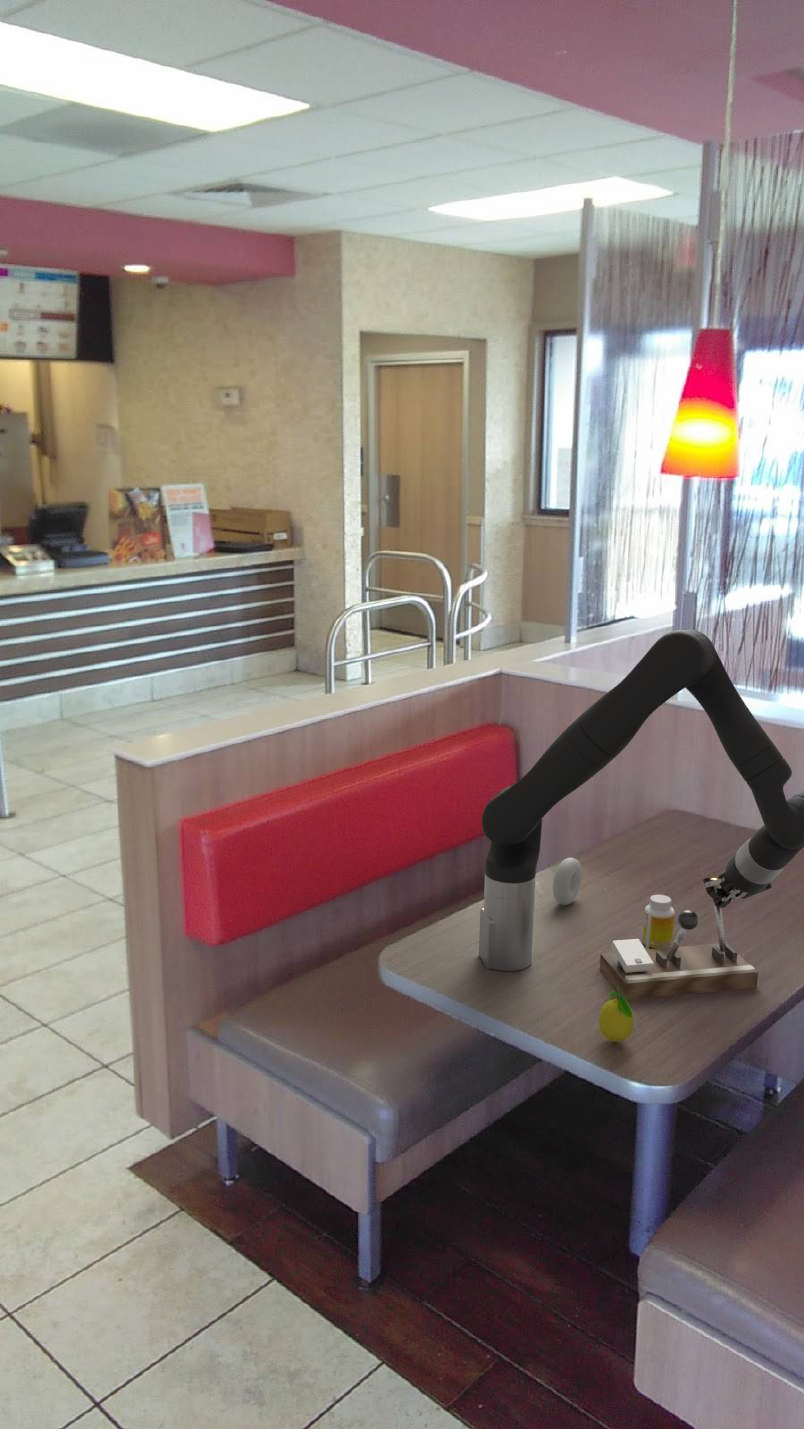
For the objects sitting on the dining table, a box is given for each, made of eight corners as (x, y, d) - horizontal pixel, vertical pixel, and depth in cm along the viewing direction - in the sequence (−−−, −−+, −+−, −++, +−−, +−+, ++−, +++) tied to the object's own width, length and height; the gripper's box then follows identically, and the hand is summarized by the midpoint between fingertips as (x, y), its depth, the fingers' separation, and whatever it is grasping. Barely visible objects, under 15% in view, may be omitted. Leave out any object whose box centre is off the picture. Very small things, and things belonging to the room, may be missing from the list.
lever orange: (719, 952, 203) (709, 877, 206) (710, 952, 206) (700, 879, 209) (736, 951, 204) (726, 876, 206) (727, 951, 207) (717, 878, 210)
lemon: (629, 1056, 178) (633, 999, 175) (593, 1048, 180) (596, 992, 177) (638, 1036, 184) (642, 980, 181) (602, 1028, 186) (606, 973, 183)
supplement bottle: (678, 951, 214) (682, 901, 212) (655, 957, 212) (659, 906, 209) (658, 939, 219) (661, 890, 217) (636, 945, 216) (639, 896, 214)
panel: (625, 999, 196) (626, 974, 194) (599, 968, 207) (601, 944, 206) (756, 987, 201) (759, 963, 199) (724, 957, 212) (726, 934, 211)
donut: (564, 913, 230) (566, 868, 228) (548, 909, 232) (551, 864, 229) (583, 897, 238) (585, 853, 236) (568, 893, 240) (570, 849, 238)
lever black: (663, 967, 200) (685, 922, 191) (657, 951, 203) (678, 906, 194) (681, 965, 201) (703, 921, 192) (674, 949, 203) (696, 905, 194)
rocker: (625, 972, 197) (627, 964, 197) (611, 947, 204) (612, 940, 203) (652, 970, 198) (653, 962, 198) (637, 945, 205) (638, 937, 204)
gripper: (786, 841, 195) (745, 882, 209) (715, 845, 192) (679, 886, 207) (799, 880, 191) (757, 919, 205) (727, 885, 188) (690, 924, 203)
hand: (718, 903), depth 206 cm, fingers closed
